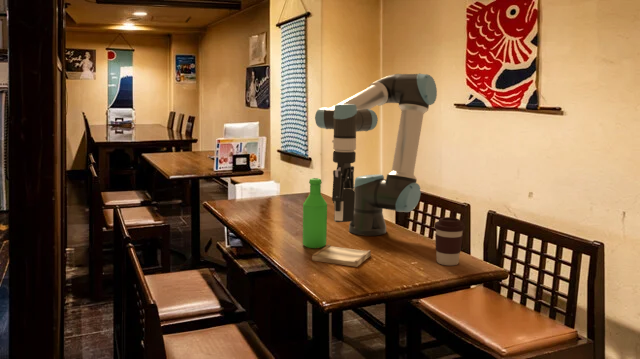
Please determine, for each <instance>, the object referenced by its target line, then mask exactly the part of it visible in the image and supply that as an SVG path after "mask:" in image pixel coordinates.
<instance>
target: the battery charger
mask: <svg viewBox="0 0 640 359" xmlns="http://www.w3.org/2000/svg"><path fill="white" fill-rule="evenodd" d="M342 201H343V221H337V220H335V201H332V204H334V206H333V208H334V214H333V221H334V222H335V223H347V222H349V223H350V221H354V203H355V193H354V190H353V189H351V188H344V191H343V198H342Z"/></svg>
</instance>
